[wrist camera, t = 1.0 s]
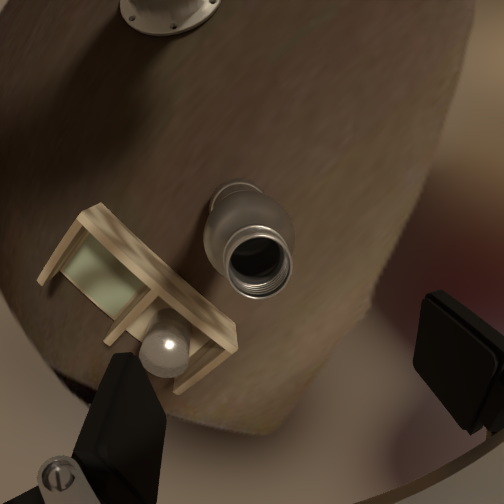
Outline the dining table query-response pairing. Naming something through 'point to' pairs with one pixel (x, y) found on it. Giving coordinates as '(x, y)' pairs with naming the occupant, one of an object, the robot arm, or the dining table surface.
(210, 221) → the plastic bottle
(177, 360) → the grey short cylinder
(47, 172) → the dining table surface
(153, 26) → the robot arm
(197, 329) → the divider rack
